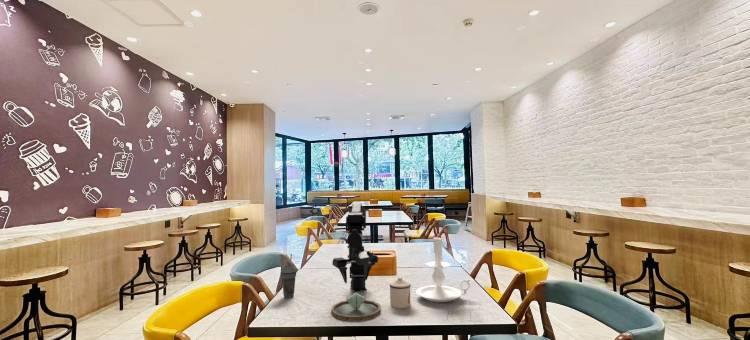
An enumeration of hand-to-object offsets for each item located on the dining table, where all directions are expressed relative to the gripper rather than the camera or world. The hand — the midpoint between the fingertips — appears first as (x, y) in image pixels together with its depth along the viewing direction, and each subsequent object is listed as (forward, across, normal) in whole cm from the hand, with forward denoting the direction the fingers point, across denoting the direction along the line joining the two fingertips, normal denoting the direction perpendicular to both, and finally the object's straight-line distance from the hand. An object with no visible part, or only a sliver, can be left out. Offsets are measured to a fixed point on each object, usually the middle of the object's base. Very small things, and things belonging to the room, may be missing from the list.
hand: (355, 281), depth 138 cm
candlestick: (+12, +40, -7) cm, 43 cm away
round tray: (+12, 0, 0) cm, 12 cm away
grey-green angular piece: (+12, 0, 0) cm, 12 cm away
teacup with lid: (+12, +20, -2) cm, 23 cm away
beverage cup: (+12, -19, +32) cm, 40 cm away
